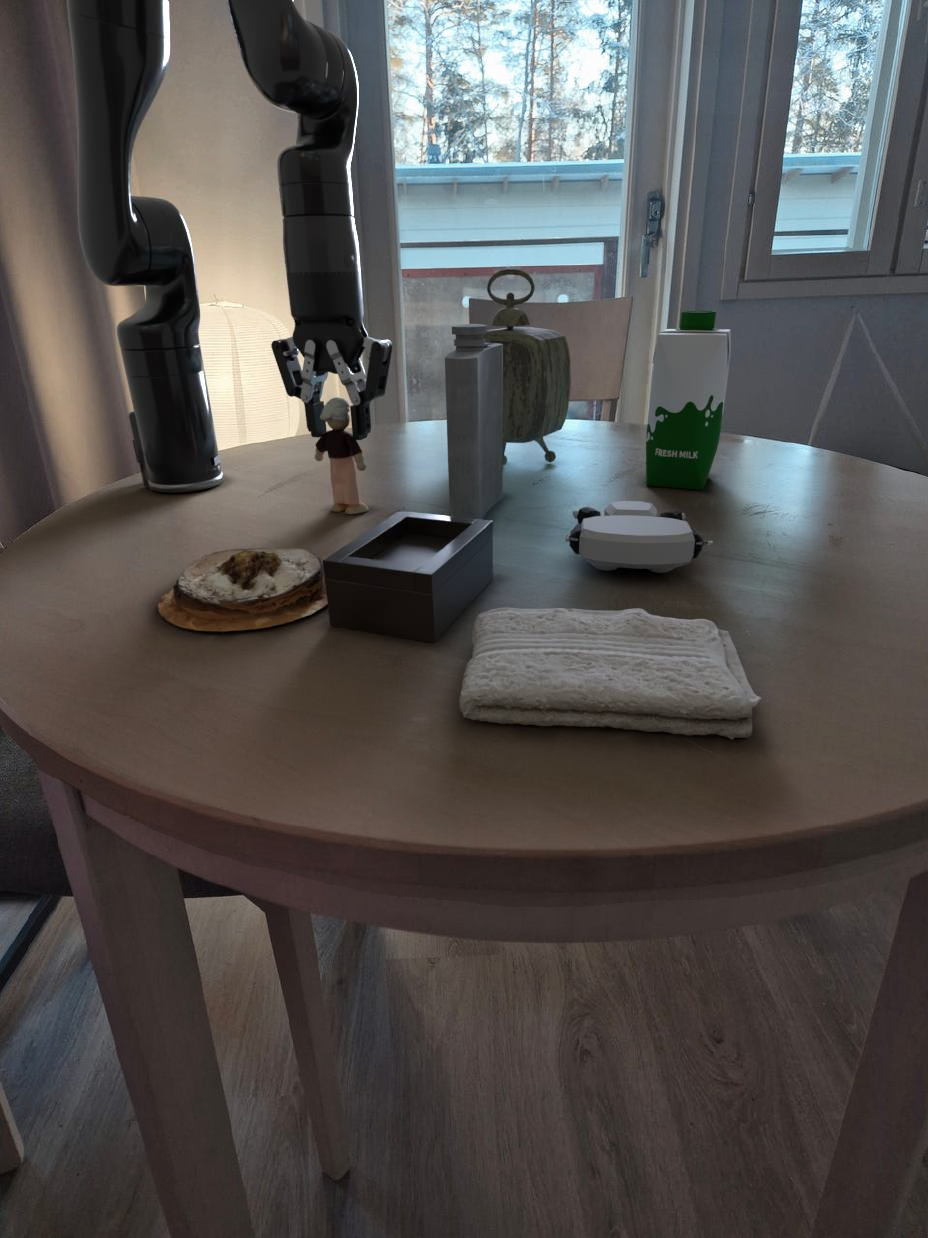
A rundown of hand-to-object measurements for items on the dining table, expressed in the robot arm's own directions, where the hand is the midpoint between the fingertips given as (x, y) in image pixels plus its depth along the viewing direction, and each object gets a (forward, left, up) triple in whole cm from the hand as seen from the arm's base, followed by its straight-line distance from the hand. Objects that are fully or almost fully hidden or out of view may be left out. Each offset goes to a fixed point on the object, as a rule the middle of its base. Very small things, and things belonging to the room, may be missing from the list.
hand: (339, 436), depth 80 cm
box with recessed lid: (+19, -21, -8) cm, 30 cm away
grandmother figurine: (0, 0, -9) cm, 9 cm away
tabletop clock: (+11, +27, -9) cm, 30 cm away
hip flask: (+15, +3, -9) cm, 18 cm away
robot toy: (+34, -5, -9) cm, 35 cm away
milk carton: (+35, +24, -9) cm, 43 cm away
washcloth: (+36, -29, -9) cm, 47 cm away
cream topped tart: (+5, -25, -9) cm, 27 cm away
